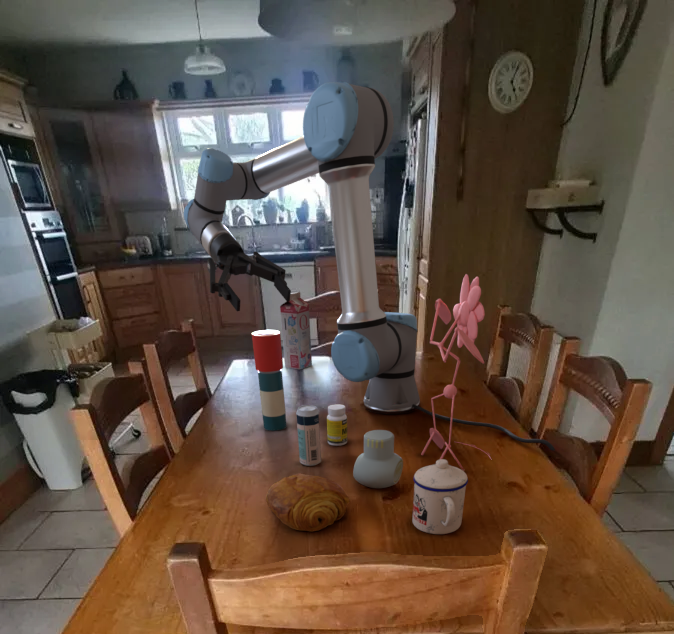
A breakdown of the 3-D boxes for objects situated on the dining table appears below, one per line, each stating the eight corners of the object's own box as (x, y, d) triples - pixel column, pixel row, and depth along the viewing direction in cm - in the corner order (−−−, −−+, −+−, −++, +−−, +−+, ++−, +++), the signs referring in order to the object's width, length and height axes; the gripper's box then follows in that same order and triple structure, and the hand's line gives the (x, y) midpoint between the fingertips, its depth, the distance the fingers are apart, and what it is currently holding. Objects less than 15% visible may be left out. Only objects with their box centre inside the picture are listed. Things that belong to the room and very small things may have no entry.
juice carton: (311, 365, 188) (308, 292, 175) (300, 369, 183) (295, 295, 170) (296, 362, 191) (291, 291, 178) (284, 367, 186) (279, 294, 173)
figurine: (442, 489, 108) (461, 287, 87) (407, 442, 128) (416, 269, 107) (515, 481, 110) (551, 282, 89) (470, 436, 130) (490, 265, 109)
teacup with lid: (405, 513, 101) (408, 452, 93) (453, 509, 101) (460, 448, 94) (422, 547, 91) (427, 482, 84) (475, 541, 92) (484, 477, 85)
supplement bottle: (345, 446, 127) (344, 410, 122) (325, 445, 128) (324, 409, 123) (349, 439, 131) (348, 403, 126) (330, 438, 132) (328, 403, 127)
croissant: (286, 551, 95) (283, 513, 90) (258, 503, 105) (254, 466, 100) (361, 530, 99) (362, 493, 94) (327, 486, 109) (327, 450, 104)
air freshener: (390, 496, 106) (392, 447, 100) (350, 491, 109) (349, 442, 102) (404, 474, 114) (407, 427, 108) (367, 469, 117) (367, 423, 111)
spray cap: (288, 366, 132) (285, 330, 127) (272, 373, 127) (268, 336, 123) (266, 363, 135) (263, 328, 130) (250, 370, 130) (245, 333, 126)
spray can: (291, 424, 140) (286, 366, 132) (277, 432, 136) (271, 372, 128) (272, 421, 143) (267, 364, 134) (259, 428, 139) (252, 369, 130)
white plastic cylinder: (324, 459, 122) (322, 405, 114) (316, 468, 118) (313, 412, 111) (304, 457, 123) (300, 403, 116) (296, 465, 119) (292, 410, 112)
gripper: (265, 256, 145) (306, 306, 138) (176, 270, 134) (216, 324, 128) (268, 226, 138) (311, 277, 132) (175, 238, 128) (216, 294, 121)
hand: (264, 301), depth 130 cm, fingers open, 13 cm apart
